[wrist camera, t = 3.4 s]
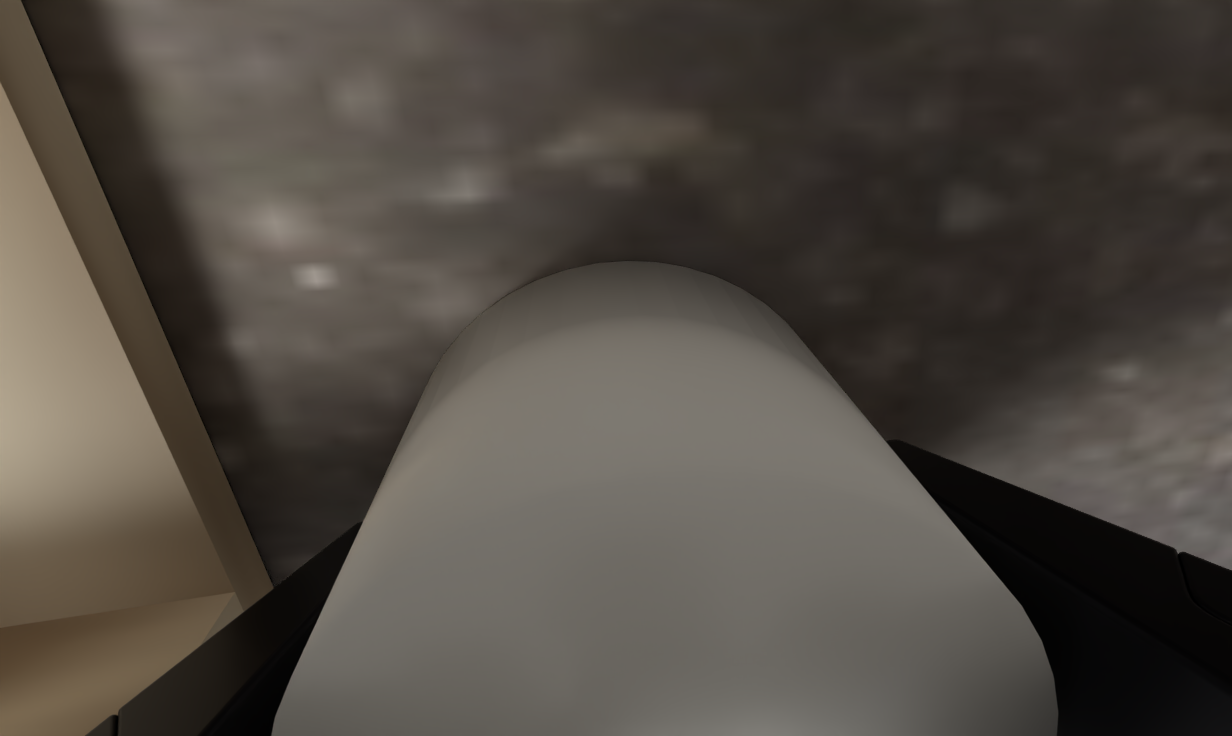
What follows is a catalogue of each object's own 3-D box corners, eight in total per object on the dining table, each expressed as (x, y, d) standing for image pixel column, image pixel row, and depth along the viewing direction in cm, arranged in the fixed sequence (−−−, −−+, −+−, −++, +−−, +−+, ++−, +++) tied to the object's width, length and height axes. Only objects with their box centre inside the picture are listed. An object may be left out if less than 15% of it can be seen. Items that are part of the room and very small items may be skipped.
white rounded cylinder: (831, 227, 9) (1111, 403, 4) (838, 598, 11) (1021, 968, 7) (359, 299, 9) (127, 551, 4) (466, 654, 11) (391, 1061, 7)
